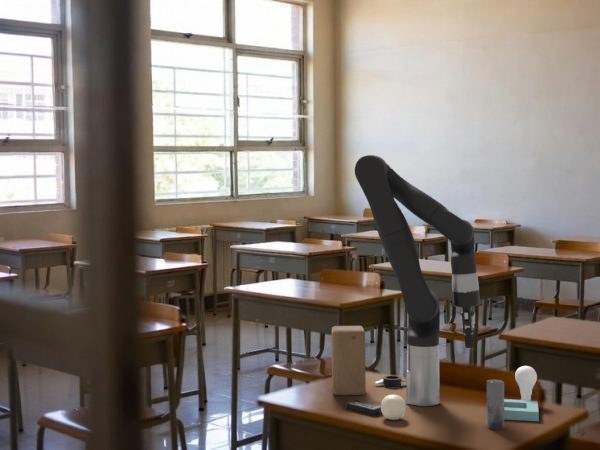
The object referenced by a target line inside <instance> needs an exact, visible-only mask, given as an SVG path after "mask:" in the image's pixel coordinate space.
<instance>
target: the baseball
mask: <svg viewBox="0 0 600 450" xmlns="http://www.w3.org/2000/svg"><path fill="white" fill-rule="evenodd" d="M406 404H407V403H406V402H405V400H404V398H403V397H401V396H400V395H399V394H388V395H385V397H384V398H383V399H382V401H381V403H380V406H381V411H382V416H383V417H385V419H388V420H391V421H397V420H399V419H402V418H403V416H404V415H405V414H406V410H407V409H406V408H407V407H406V406H407V405H406Z"/></svg>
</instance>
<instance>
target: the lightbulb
mask: <svg viewBox="0 0 600 450" xmlns="http://www.w3.org/2000/svg"><path fill="white" fill-rule="evenodd" d="M514 379H515V381H516V383H517V385H518V387H519V391H520V396H521V397H520V400H531V401H532V394H533V393H532V392H533V388H534V386H535V384H536V382H537V379H538V374H537V372H536V369H534V368H533V367H532V366H529V365H523V366H520V367H518V368H517V369H516V371H515V375H514Z"/></svg>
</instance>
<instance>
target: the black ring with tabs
mask: <svg viewBox="0 0 600 450" xmlns="http://www.w3.org/2000/svg"><path fill="white" fill-rule="evenodd" d="M402 382H403V383H406V380H402V377H401V376H400V375H394V374H393V375H385V376H383V377H382V378H380V379H378V380H375V381H374V383H375V385H379V384H383V385H382V386H383V387H384V386H385V387H384V388H387V387H398V388H401V387H402V386H401V385H402V384H403V383H402ZM400 386H401V387H400Z"/></svg>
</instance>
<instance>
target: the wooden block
mask: <svg viewBox="0 0 600 450" xmlns="http://www.w3.org/2000/svg"><path fill="white" fill-rule="evenodd" d="M331 385H332V388H331V389H332V393H333V395H335V396H363V395H365V394H366V392H367V391H366V390H367V388H366V386H367V385H366V332H365V329H364V328H363V326H362V325H334V326H332V327H331Z"/></svg>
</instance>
